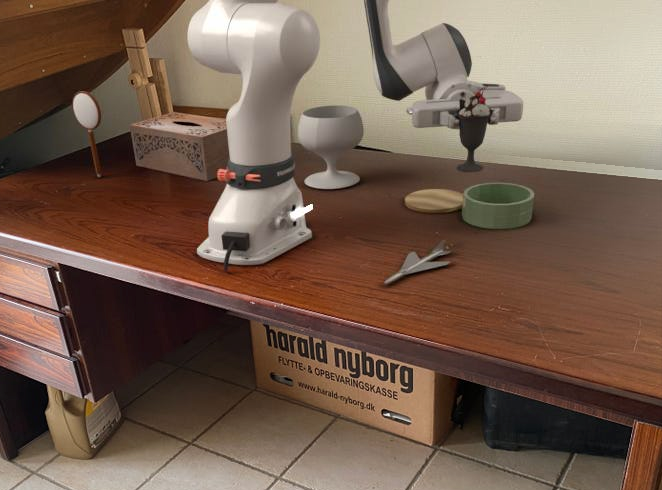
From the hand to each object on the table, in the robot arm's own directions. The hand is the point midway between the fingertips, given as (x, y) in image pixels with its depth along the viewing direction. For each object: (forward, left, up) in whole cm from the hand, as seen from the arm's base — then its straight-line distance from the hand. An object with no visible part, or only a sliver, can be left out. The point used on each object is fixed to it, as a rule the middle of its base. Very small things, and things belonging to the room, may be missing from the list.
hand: (475, 121), depth 129 cm
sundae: (+1, 0, -9) cm, 9 cm away
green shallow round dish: (-1, -6, -17) cm, 18 cm away
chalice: (+9, +33, -17) cm, 38 cm away
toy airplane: (-26, 0, -17) cm, 31 cm away
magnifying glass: (-4, +89, -17) cm, 91 cm away
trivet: (+3, +7, -17) cm, 19 cm away
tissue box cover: (+11, +72, -17) cm, 75 cm away
